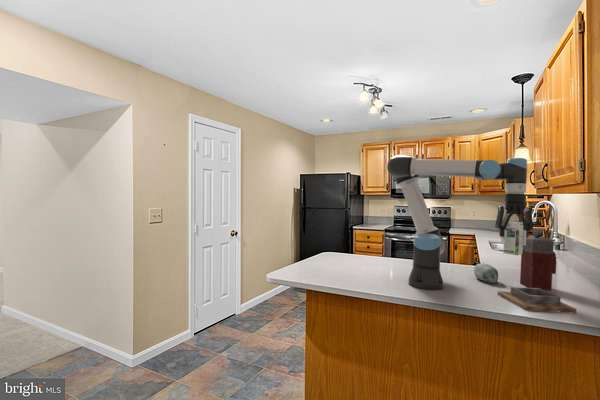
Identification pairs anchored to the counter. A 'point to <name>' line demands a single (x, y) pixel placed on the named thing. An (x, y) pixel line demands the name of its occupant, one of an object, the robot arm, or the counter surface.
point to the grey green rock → (486, 273)
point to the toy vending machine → (538, 261)
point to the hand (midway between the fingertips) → (513, 244)
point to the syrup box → (514, 238)
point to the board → (536, 300)
